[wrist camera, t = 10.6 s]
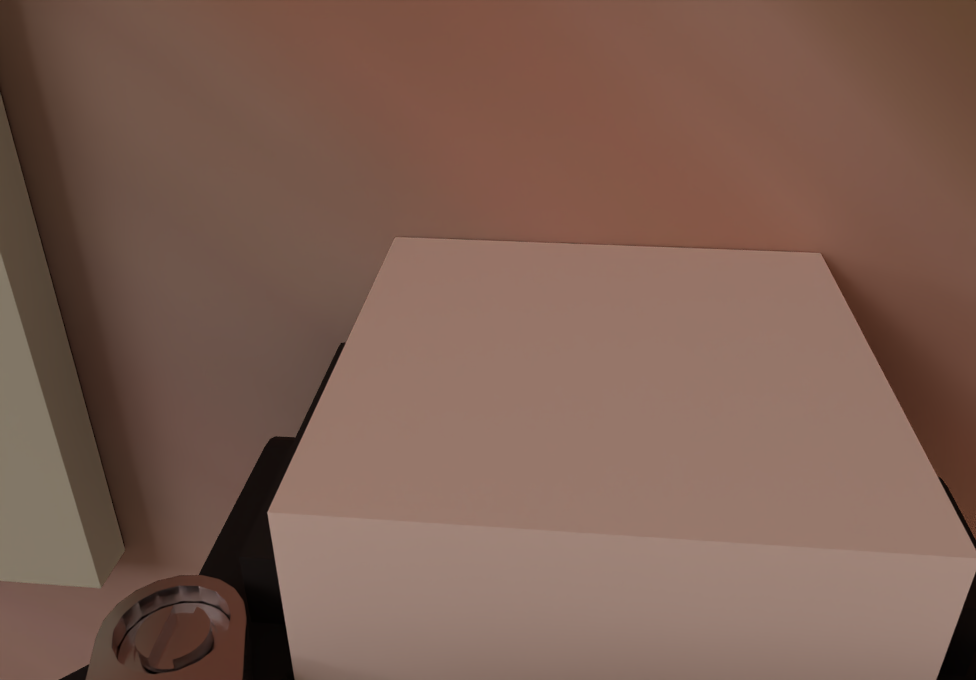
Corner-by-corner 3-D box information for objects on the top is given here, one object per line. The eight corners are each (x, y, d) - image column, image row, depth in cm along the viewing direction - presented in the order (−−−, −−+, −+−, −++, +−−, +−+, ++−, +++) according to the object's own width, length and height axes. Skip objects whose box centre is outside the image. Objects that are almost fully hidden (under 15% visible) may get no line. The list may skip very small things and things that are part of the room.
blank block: (413, 547, 13) (330, 892, 9) (395, 237, 11) (267, 512, 7) (757, 570, 13) (839, 945, 9) (821, 251, 10) (980, 558, 6)
